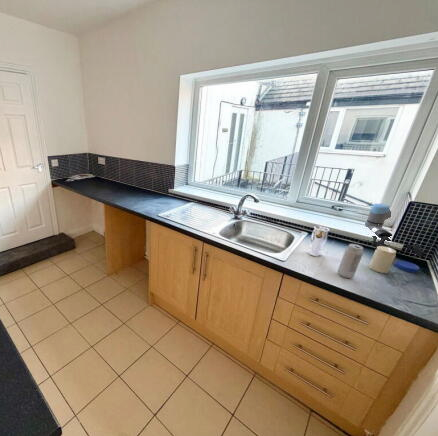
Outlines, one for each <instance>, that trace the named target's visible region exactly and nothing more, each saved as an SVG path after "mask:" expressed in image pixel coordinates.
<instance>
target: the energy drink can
mask: <svg viewBox="0 0 438 436" xmlns="http://www.w3.org/2000/svg"><path fill="white" fill-rule="evenodd" d="M364 252H365V251H364V247H363V246H362V245H360V244H356V243H349V244H348V246H346V247H345V250H344V253H343V256H342V258H341V261H340V263H339V266H338V269H337V273H338V275H339V276H341V277H343V278H346V279H352V278H353V277H355V274H356V272H357V269H358V268H359V265H360V262H361V260H362V257H363V255H364Z"/></svg>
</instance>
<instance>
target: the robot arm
mask: <svg viewBox="0 0 438 436" xmlns="http://www.w3.org/2000/svg"><path fill="white" fill-rule="evenodd" d="M389 207H390V206H389V204H386V203H385V204H384V203H373V204H372V206H371V208H370V209H369V214H368V216H367V219H366V221H364V222H365V226H366V227H368V228H369V229H370V230H371V231H372V232H373V233H375V234H376V235H377V236H378V237H379V238H381V240H380V241H378V242H377V241H376V239H377V237H376V236H372V237H373V241H372V240H371V246H373V247H374V246H375V248H376V249H377V247H378V246H384V247H389V248H391V246H388V244H384V241H385V240H387V241H391V240H390V239H389V238H388V237H390V236H392V235H393V233H391V232H390V231H388V230H387V229H386V228H384V227H383V225H384V224H385V221H387V220H389V219H388V218H390V217H391V211H390V209H389ZM378 224H379V225H378ZM372 237H371V238H372ZM390 238H391V237H390ZM413 247H414V248H413ZM405 249H407V250H409V251H411V252H412V253H414V254H415V255H417V256H419V257H420V258H424V257H425V254H426V252H425V251H424V250H422V246H421V245H419V244H416V246H414V245H410V244H406V248H405Z"/></svg>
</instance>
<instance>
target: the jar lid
mask: <svg viewBox="0 0 438 436" xmlns="http://www.w3.org/2000/svg"><path fill="white" fill-rule="evenodd" d="M394 266H395V267H396V268H397V269H399V270H401V271H403V272H407V273H410V274H417V273H418V272H419V271H420V266H418V265H416V264H415V263H413V262H409V261H407V260H396V261H395V262H394Z"/></svg>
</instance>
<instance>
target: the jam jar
mask: <svg viewBox="0 0 438 436" xmlns="http://www.w3.org/2000/svg"><path fill="white" fill-rule="evenodd" d="M389 247H390V246H388V247H384V246H378V247H377V248H376V249H375V250H374V252H373V254H372V257H371V260H370V262H369V265H368V268H369V269H371V270H373V271H374V272H377V273H381V274H389V273H390V271H391V268H392V266H393V263H394V261H395V259H396V254H397V250H395V249H394V248H391V247H390V248H389Z"/></svg>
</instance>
